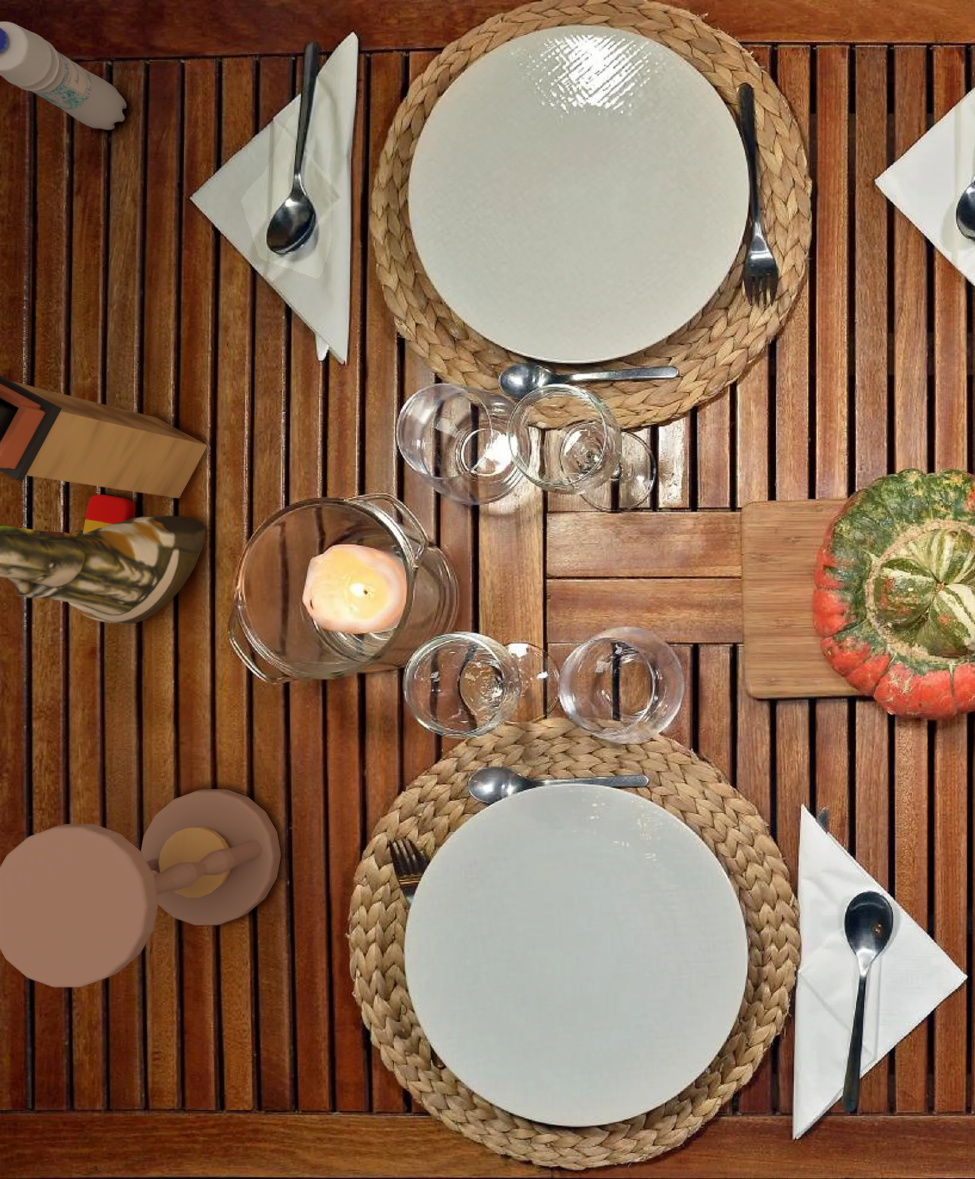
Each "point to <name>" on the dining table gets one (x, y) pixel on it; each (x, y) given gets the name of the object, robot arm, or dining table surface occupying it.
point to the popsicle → (107, 511)
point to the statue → (105, 565)
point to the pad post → (6, 417)
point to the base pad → (24, 428)
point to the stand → (114, 448)
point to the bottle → (57, 78)
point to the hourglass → (131, 885)
